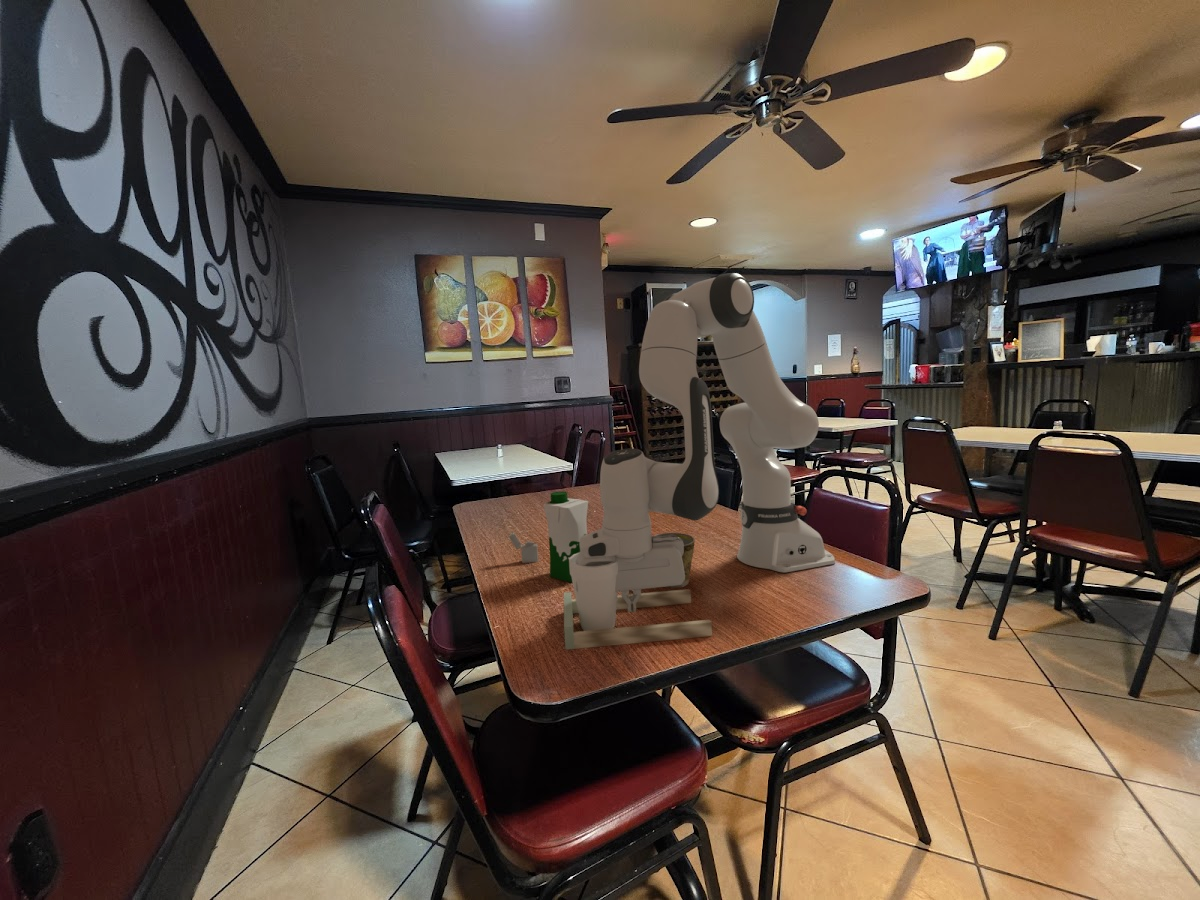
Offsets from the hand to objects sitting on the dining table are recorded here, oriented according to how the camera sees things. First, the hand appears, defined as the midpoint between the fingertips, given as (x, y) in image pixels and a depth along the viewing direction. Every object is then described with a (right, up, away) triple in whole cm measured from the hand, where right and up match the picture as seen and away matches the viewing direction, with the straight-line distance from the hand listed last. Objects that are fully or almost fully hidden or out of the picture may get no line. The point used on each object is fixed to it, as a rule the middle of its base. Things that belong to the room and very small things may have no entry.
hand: (631, 610), depth 86 cm
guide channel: (+1, -2, 0) cm, 3 cm away
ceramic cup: (+10, 0, +19) cm, 21 cm away
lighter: (-26, 0, +36) cm, 45 cm away
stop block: (-12, -3, 0) cm, 12 cm away
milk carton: (-13, -1, +25) cm, 29 cm away
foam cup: (-6, -3, 0) cm, 7 cm away
